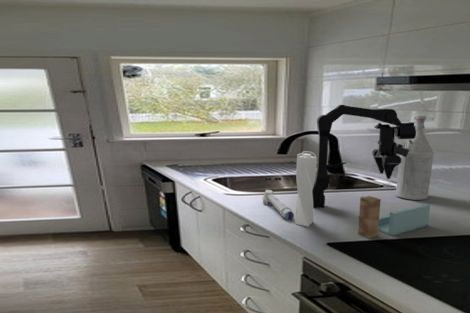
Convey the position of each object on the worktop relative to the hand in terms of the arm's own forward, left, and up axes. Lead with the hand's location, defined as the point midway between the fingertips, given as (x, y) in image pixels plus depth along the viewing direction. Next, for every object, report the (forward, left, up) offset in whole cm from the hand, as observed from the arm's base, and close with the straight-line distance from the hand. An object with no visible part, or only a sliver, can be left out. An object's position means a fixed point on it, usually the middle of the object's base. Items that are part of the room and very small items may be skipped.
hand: (385, 175), depth 138 cm
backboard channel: (-1, -20, -14) cm, 25 cm away
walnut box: (-15, -29, -14) cm, 36 cm away
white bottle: (+21, +20, -15) cm, 32 cm away
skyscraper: (-36, -20, -15) cm, 44 cm away
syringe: (-45, -5, -15) cm, 48 cm away
